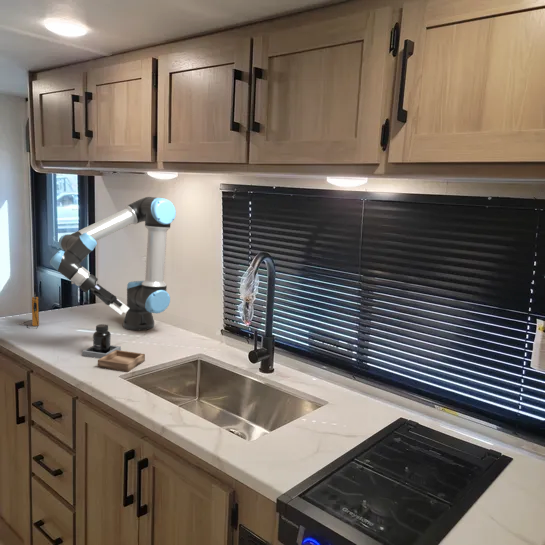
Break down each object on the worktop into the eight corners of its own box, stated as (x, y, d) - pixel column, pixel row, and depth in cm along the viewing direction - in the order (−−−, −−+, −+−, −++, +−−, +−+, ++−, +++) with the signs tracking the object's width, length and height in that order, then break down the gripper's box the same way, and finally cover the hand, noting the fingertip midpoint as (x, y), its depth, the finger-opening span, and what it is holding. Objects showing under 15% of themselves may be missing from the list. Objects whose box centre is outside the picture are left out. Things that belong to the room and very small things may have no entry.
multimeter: (16, 321, 243) (15, 282, 240) (38, 320, 247) (38, 281, 244) (15, 330, 230) (13, 288, 226) (38, 328, 234) (37, 287, 231)
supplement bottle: (92, 356, 201) (92, 328, 199) (93, 351, 208) (93, 323, 206) (110, 355, 203) (110, 327, 201) (110, 350, 209) (110, 323, 207)
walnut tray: (116, 356, 202) (116, 349, 202) (144, 361, 199) (144, 353, 199) (97, 367, 190) (97, 359, 189) (128, 372, 187) (128, 364, 186)
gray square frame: (97, 347, 212) (97, 343, 211) (120, 351, 209) (120, 346, 209) (82, 355, 201) (82, 351, 201) (106, 359, 199) (106, 354, 198)
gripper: (76, 289, 216) (115, 319, 221) (80, 283, 194) (123, 317, 199) (88, 276, 219) (126, 306, 224) (93, 269, 196) (135, 303, 201)
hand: (125, 311), depth 211 cm, fingers open, 13 cm apart
